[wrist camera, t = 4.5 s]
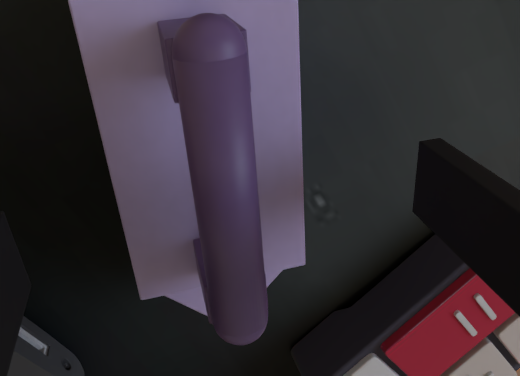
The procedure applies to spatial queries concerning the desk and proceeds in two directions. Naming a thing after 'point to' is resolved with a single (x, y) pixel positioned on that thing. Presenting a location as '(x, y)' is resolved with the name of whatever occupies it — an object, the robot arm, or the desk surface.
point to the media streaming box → (41, 355)
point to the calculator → (418, 325)
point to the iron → (201, 146)
